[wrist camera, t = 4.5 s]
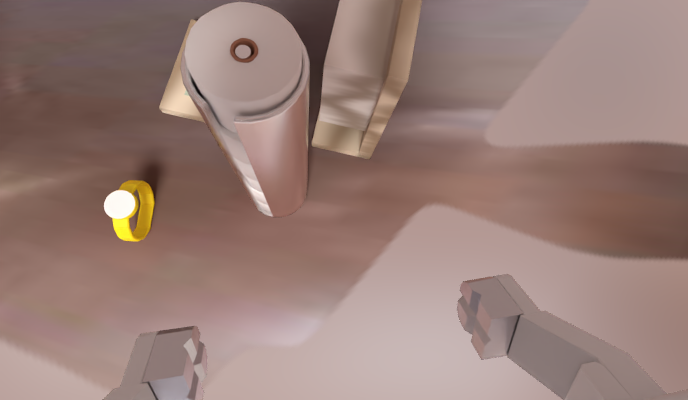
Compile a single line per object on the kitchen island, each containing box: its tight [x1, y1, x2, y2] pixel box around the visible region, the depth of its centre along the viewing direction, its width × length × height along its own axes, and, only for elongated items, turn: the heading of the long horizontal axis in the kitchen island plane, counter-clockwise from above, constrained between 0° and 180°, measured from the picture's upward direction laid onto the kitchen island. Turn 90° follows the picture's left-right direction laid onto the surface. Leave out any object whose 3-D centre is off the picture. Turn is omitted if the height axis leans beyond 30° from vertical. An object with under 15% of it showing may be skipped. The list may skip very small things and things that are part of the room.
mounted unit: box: [312, 0, 422, 159], centre depth 37 cm, size 7×13×17 cm, turn 169°
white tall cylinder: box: [180, 2, 310, 217], centre depth 30 cm, size 6×6×25 cm
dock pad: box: [159, 20, 205, 122], centre depth 44 cm, size 12×12×1 cm
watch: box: [104, 180, 155, 241], centre depth 37 cm, size 6×3×6 cm, turn 178°
